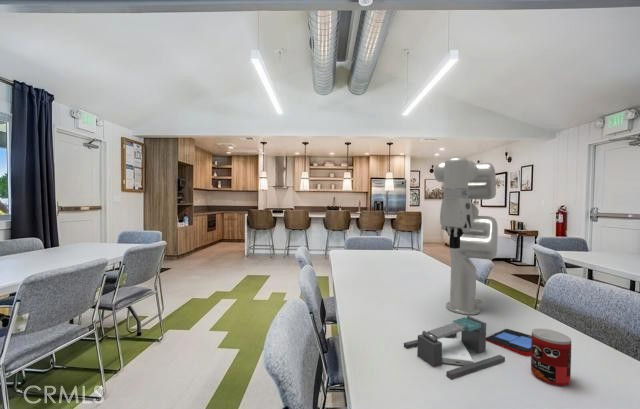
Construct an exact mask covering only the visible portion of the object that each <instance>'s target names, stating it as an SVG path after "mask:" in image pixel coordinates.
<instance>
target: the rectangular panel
mask: <svg viewBox="0 0 640 409" xmlns="http://www.w3.org/2000/svg"><path fill="white" fill-rule="evenodd" d="M478 328H481V324H479V323H477V322H475V321H472V320H470V319H468V318H467V317H465V316H464V317H460V318H457V319H453V320H452V323H450V324H447V325H443V326H439V327H436V328H434V329H433V328H432V329H430V330H428V331H426V330H422V332H421V334H423V335H424V336H426V337H428V338H429V339H431V340H433V341H434V342H436V341H437V340H438V339H440V338H443V337H446V336H449V335H452V334H455V333H457V334H458V333H462V331H464V330H467V331H472V330H475V329H478Z"/></svg>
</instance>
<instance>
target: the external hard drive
mask: <svg viewBox="0 0 640 409" xmlns="http://www.w3.org/2000/svg"><path fill="white" fill-rule="evenodd" d="M438 341H440V342H441V343H442V363H444V364H449V365H457V366H465V365H468V364H472V363H475V361H474V359H473V358H472V356H471V354H470V353H469V351H468V348H467V347H465V346H464V344H463V343H462V341H461V339H457V338H440V339H438Z"/></svg>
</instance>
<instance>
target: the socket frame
mask: <svg viewBox="0 0 640 409" xmlns="http://www.w3.org/2000/svg"><path fill="white" fill-rule="evenodd" d="M466 318H468V319H470V320H472V321H475V322H477V323H479V324H481V328H478V329H475V330H472V331H467V330H464V331H461V336H460V338H461V339H460V340H461V341H462V343H463V344H464V346H465V347H466V349H469V350H471V351H472V352H475V353H477V354H482V353H485V352H486V350H487V347H486V346H487V341H486V338H487V322H484V321H483V320H480V319H478V318H475V317H473V316H470V315H466ZM457 334H458V333H455V334H452V335H449V336H446V337H443V338H451V339H454V338H456V337H457V336H458V335H457ZM403 347H404V348H405V349H406V350H409V349H414V348H417V350H416V353H417V355H416V356H417V357H418V358H419V359H421V360H422V361H423V362H425V363H426V364H428V365H429V366H431V367H432V368H436V367H440V366H442V363H443V362H442V343H441V342H440V341H438V340H437V341H436V342H434V341H433V340H431V339H429V338H428V337H426V336H424V335H423V334H422V333H421V334H418V335H417V339H415V340H410V341H407V342H403ZM505 361H506V357H505V356H503V355H502V354H498V355H494V356H492V357H491V356H490V357H488V358H485V359H482V360H478V361H474V363H472V364H468V365H461V366H459V367H456V368H453V369H450V370H447V371H446V375H445V376H446V377H447V378H449V380H454V379H457V378H460V377H463V376H466V375H469V374H472V373H475V372H478V371H481V370H483V369H487V368H490V367H493V366H496V365H499V364H502V363H505Z"/></svg>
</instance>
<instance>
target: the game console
mask: <svg viewBox="0 0 640 409" xmlns="http://www.w3.org/2000/svg"><path fill="white" fill-rule="evenodd" d="M531 337H532V334H527V333H523V332H520V331H517V330H512V329H509V328H504V329H502V330H500V331H498V332H495V333H492V334H491V335H489V336H486V342H487V343H491V344H492V345H495V346H497V347H501V348H503V349H505V350H508V351H510V352H512V353H515V354H517V355H520V356H523V357H531Z"/></svg>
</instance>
